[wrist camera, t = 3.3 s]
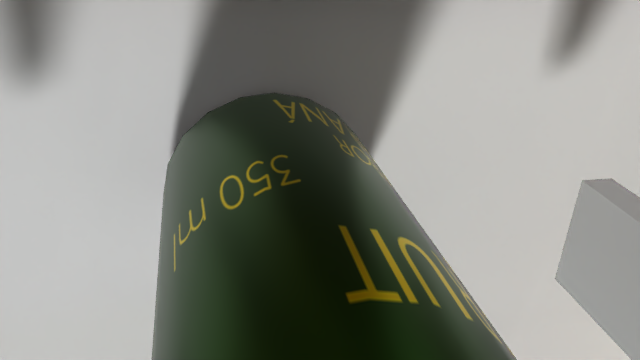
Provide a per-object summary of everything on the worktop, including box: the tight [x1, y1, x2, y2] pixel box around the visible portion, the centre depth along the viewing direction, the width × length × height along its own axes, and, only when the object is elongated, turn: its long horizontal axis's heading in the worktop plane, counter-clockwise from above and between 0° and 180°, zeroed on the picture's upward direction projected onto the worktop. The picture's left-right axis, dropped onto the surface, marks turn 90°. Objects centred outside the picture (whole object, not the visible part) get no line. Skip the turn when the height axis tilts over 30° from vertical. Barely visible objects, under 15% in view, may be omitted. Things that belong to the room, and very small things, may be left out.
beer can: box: [152, 93, 517, 360], centre depth 10 cm, size 5×5×12 cm
